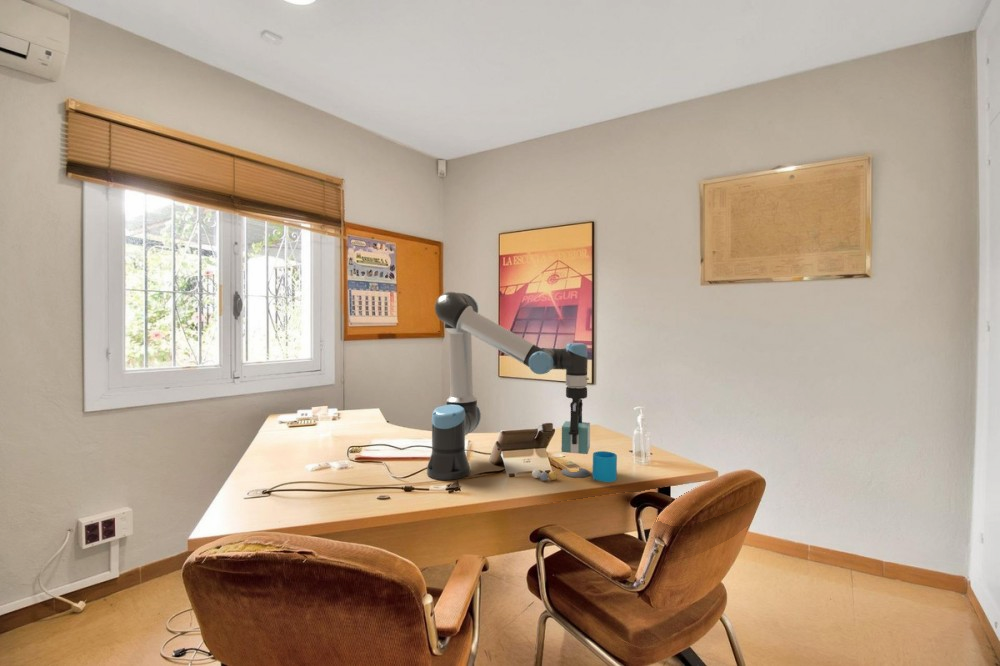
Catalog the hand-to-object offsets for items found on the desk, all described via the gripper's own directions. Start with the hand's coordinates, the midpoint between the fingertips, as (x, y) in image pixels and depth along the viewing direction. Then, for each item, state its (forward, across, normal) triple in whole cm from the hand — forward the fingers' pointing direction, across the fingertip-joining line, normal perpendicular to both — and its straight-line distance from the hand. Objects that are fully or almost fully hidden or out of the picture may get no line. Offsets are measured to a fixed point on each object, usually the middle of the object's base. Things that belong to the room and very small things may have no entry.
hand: (576, 449), depth 167 cm
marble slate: (+8, -11, +10) cm, 17 cm away
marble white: (+6, -9, +12) cm, 16 cm away
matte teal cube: (0, 0, 0) cm, 0 cm away
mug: (+9, 0, -10) cm, 13 cm away
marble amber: (+9, -9, +7) cm, 14 cm away
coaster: (+9, 0, 0) cm, 9 cm away
